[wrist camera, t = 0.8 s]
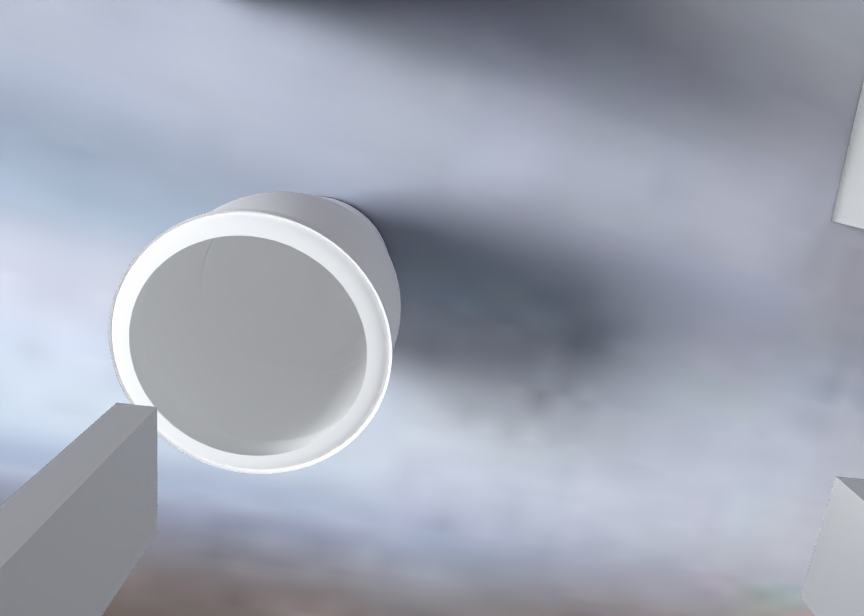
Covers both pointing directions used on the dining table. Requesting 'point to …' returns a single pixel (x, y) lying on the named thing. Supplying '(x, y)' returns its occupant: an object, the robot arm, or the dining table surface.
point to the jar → (259, 331)
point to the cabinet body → (853, 176)
